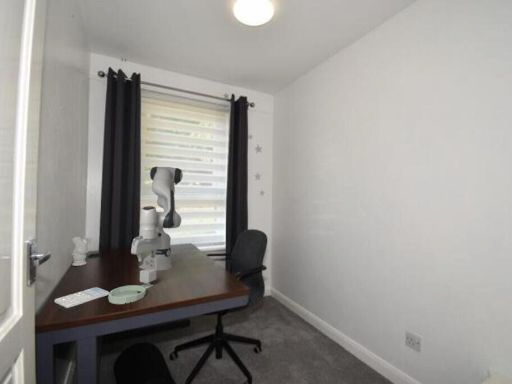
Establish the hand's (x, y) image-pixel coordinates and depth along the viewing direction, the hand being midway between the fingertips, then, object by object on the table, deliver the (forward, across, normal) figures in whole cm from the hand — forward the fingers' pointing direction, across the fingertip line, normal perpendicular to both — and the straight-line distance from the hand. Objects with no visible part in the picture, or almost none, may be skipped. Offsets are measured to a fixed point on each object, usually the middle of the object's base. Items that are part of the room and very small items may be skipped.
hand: (146, 259), depth 143 cm
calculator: (+17, -22, +19) cm, 34 cm away
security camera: (+17, +1, 0) cm, 17 cm away
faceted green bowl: (+17, -13, -1) cm, 21 cm away
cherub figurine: (+16, +19, +78) cm, 81 cm away
